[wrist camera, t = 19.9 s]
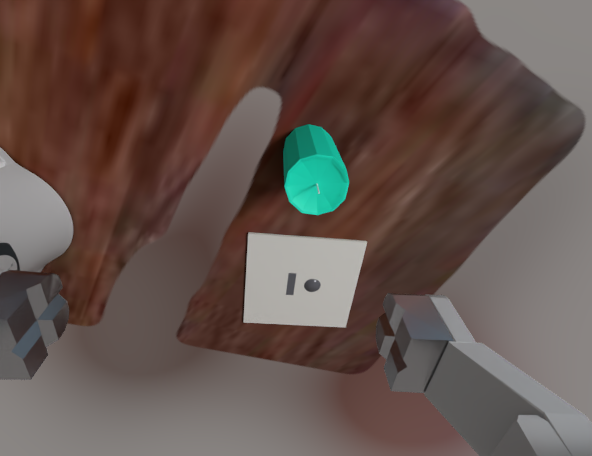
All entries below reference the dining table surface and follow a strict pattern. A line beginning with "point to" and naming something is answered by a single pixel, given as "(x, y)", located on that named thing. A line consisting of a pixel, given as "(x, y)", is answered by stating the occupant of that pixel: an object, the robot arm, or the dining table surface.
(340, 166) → the candle
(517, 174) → the dining table surface
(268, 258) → the tile
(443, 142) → the dining table surface
